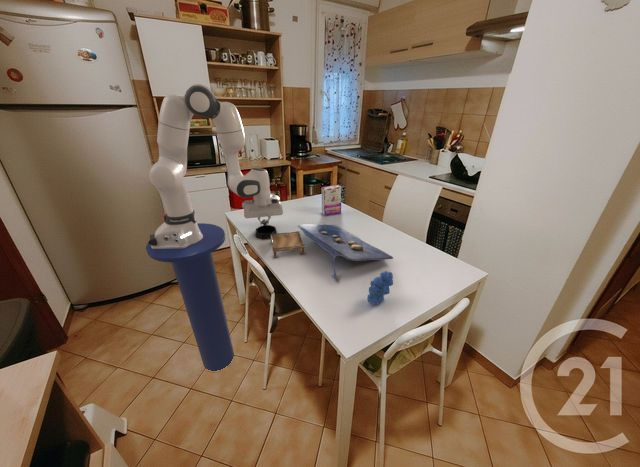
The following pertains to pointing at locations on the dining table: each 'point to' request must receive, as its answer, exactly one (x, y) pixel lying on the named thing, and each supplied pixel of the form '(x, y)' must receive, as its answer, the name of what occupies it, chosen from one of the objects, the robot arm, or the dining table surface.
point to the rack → (286, 242)
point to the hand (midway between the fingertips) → (264, 223)
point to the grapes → (380, 287)
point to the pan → (265, 231)
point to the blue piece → (342, 243)
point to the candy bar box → (331, 200)
